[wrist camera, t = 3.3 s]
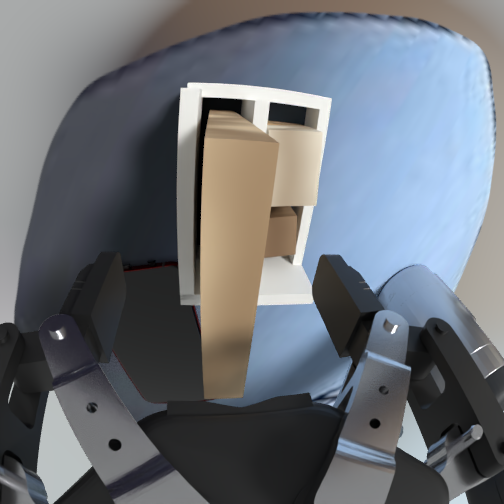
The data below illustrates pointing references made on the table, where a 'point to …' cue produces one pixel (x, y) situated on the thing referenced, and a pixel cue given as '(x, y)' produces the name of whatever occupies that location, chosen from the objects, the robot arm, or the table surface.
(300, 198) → the offcut maple
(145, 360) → the smartphone
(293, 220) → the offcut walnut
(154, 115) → the table surface
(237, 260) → the tan rectangular block
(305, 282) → the rack
